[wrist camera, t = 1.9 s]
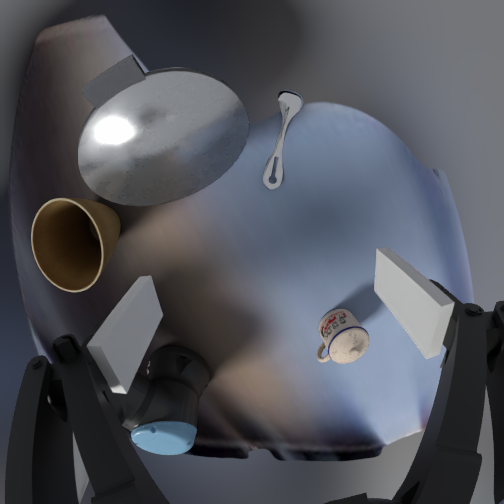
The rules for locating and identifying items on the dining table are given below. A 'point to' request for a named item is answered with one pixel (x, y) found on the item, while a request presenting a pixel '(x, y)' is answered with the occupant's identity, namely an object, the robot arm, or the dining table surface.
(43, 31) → the dining table surface
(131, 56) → the lid
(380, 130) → the dining table surface
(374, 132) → the dining table surface
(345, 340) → the teacup with lid
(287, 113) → the stirrer
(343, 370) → the dining table surface
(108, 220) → the plant pot
